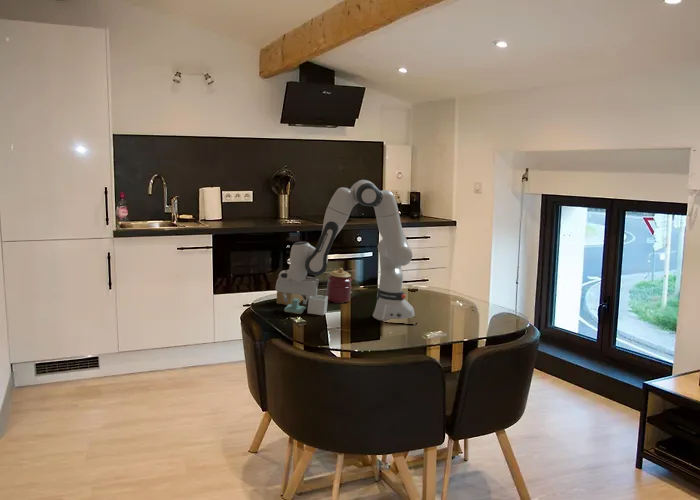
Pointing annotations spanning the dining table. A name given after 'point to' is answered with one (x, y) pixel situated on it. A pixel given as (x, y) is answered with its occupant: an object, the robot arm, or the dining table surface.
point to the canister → (339, 286)
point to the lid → (295, 307)
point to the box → (317, 304)
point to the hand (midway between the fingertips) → (295, 302)
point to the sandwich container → (290, 297)
